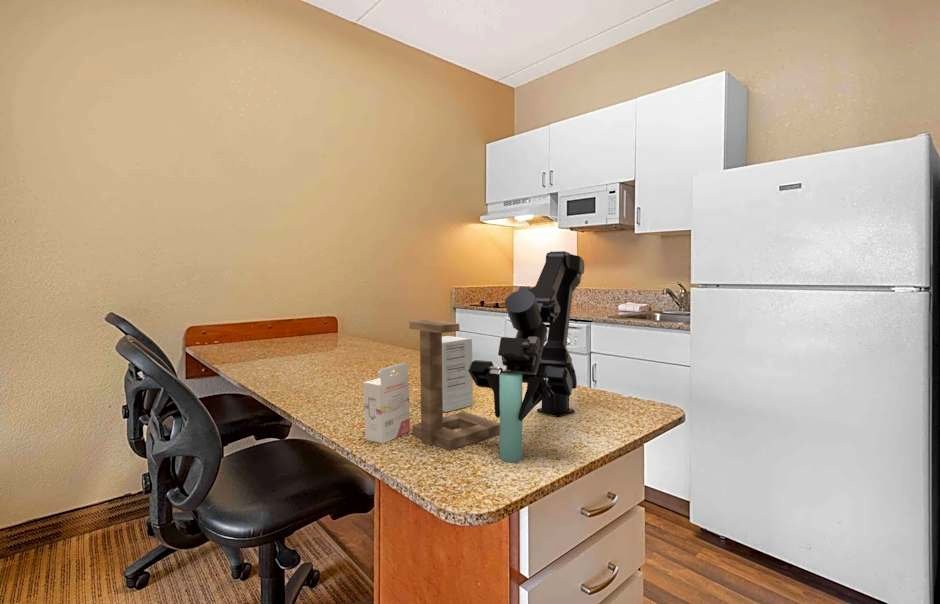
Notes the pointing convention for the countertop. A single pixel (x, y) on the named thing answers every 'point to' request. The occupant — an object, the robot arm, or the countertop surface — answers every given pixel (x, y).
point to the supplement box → (456, 373)
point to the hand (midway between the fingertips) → (508, 418)
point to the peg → (510, 417)
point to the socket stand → (432, 421)
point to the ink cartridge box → (387, 405)
